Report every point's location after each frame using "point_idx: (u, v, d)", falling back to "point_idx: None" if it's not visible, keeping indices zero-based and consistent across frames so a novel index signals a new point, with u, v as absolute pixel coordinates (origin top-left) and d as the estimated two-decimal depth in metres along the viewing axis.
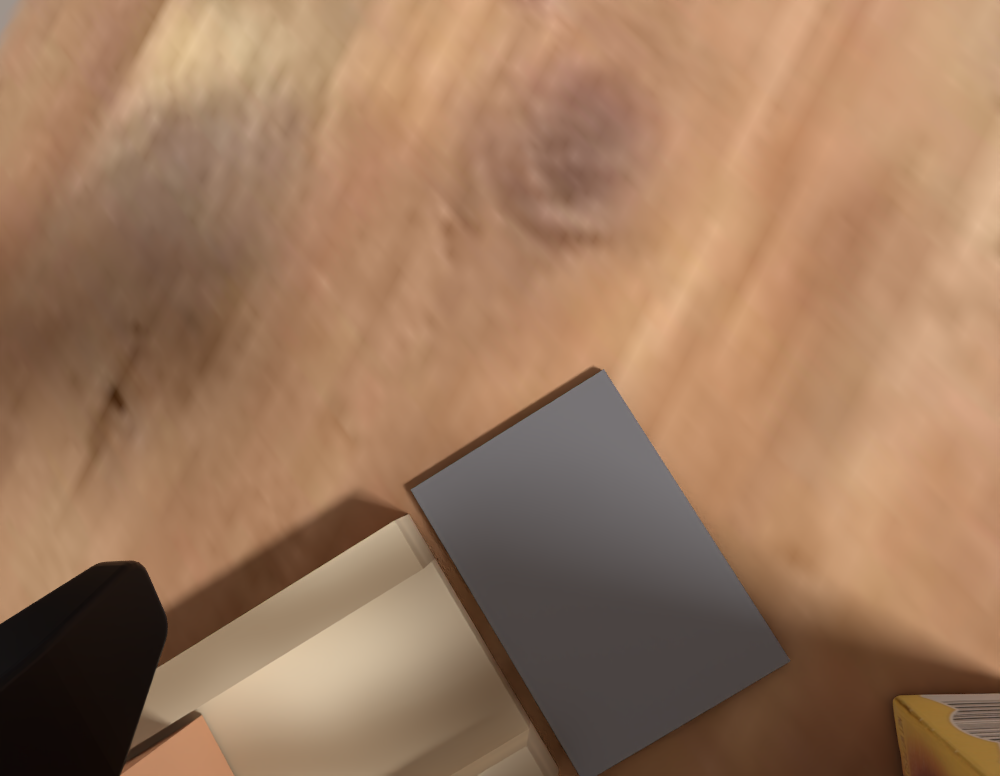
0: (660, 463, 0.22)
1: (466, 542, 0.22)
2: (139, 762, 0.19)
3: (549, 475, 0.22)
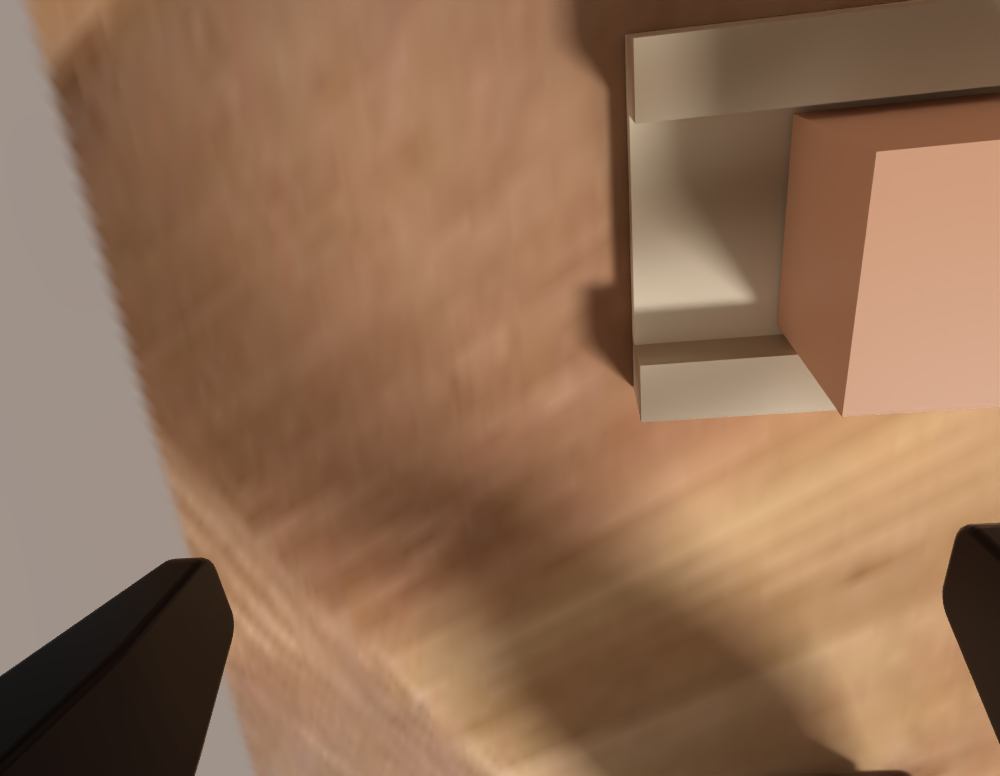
0: None
1: None
2: None
3: None
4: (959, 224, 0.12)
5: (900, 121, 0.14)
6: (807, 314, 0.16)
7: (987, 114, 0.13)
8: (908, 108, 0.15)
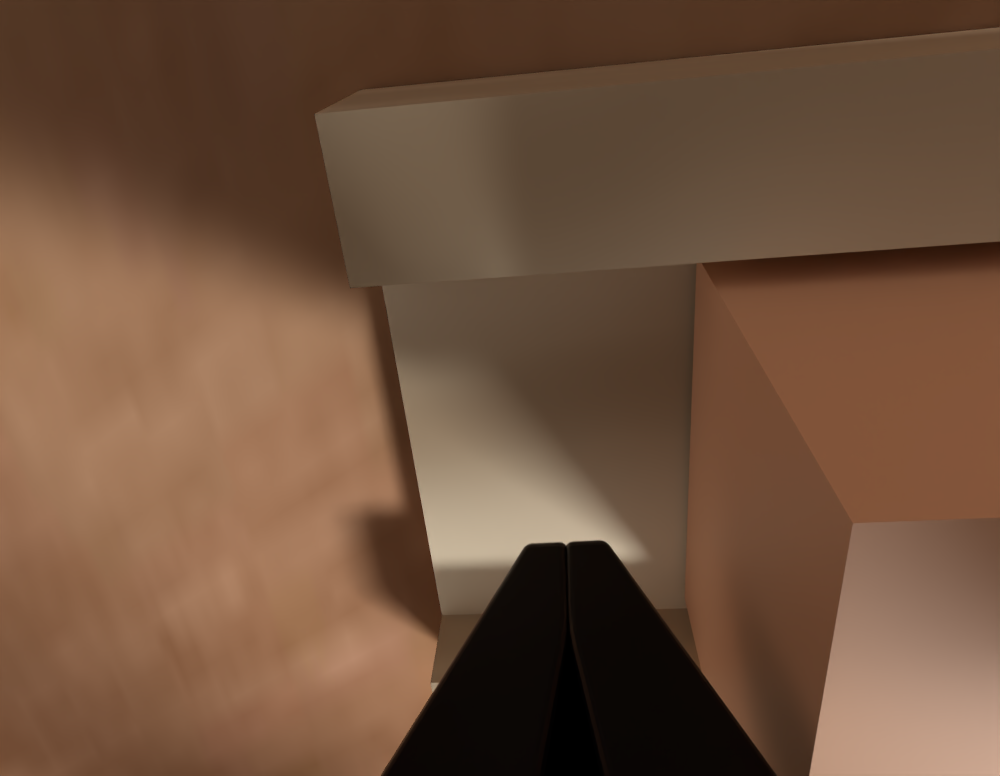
0: None
1: None
2: None
3: None
4: None
5: (916, 327, 0.06)
6: (719, 659, 0.08)
7: None
8: (931, 267, 0.07)
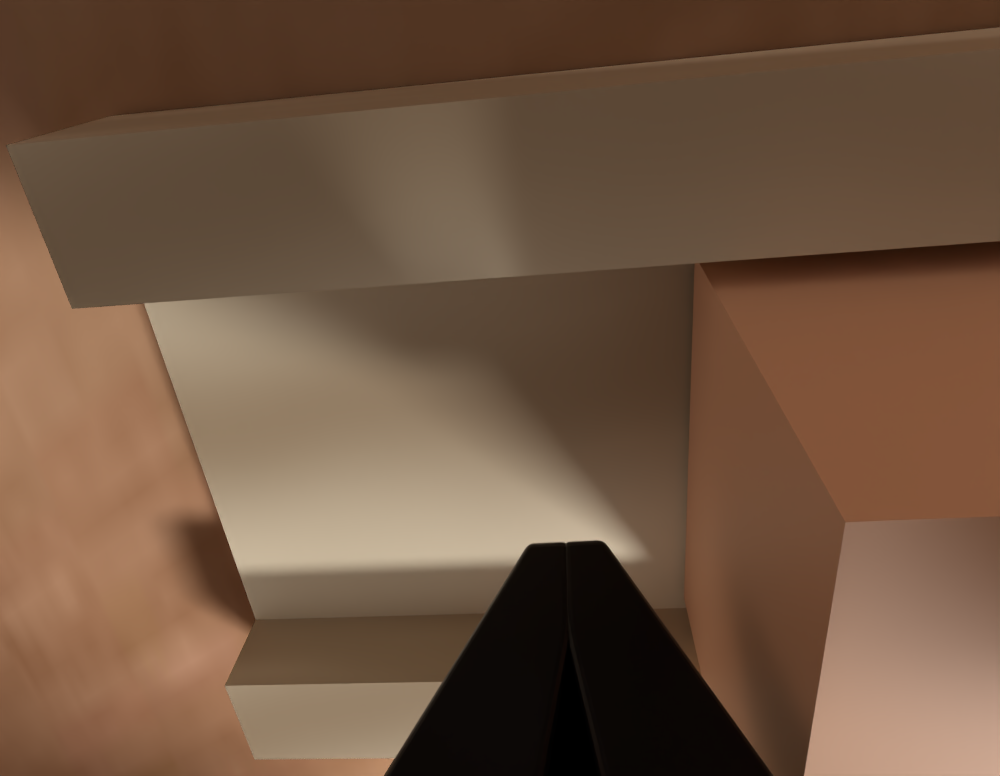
0: None
1: None
2: None
3: None
4: None
5: (912, 327, 0.06)
6: (718, 658, 0.08)
7: None
8: (928, 267, 0.07)
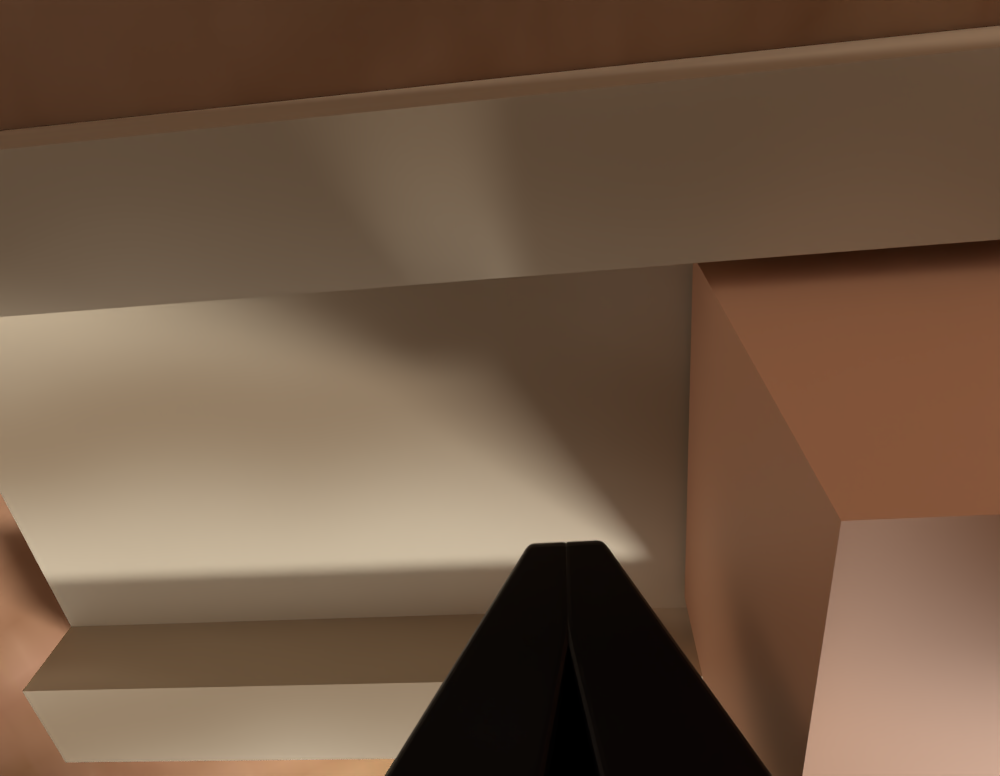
0: None
1: None
2: None
3: None
4: None
5: (910, 325, 0.06)
6: (718, 658, 0.08)
7: None
8: (926, 266, 0.07)
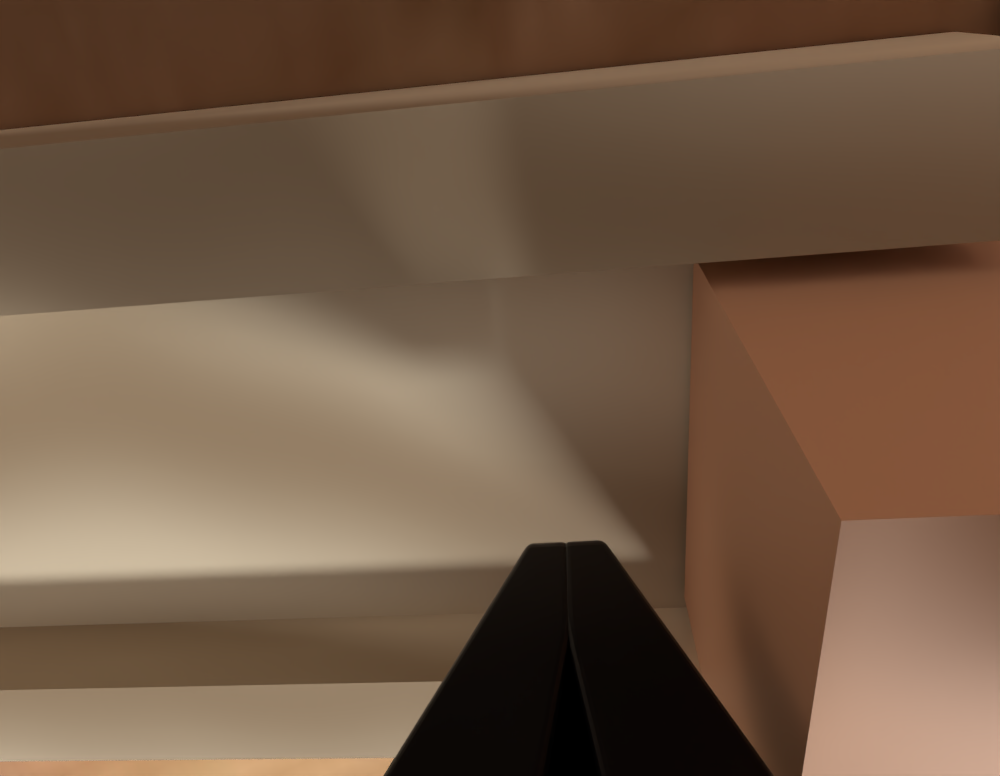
0: None
1: None
2: None
3: None
4: None
5: (910, 326, 0.06)
6: (717, 658, 0.08)
7: None
8: (926, 267, 0.07)
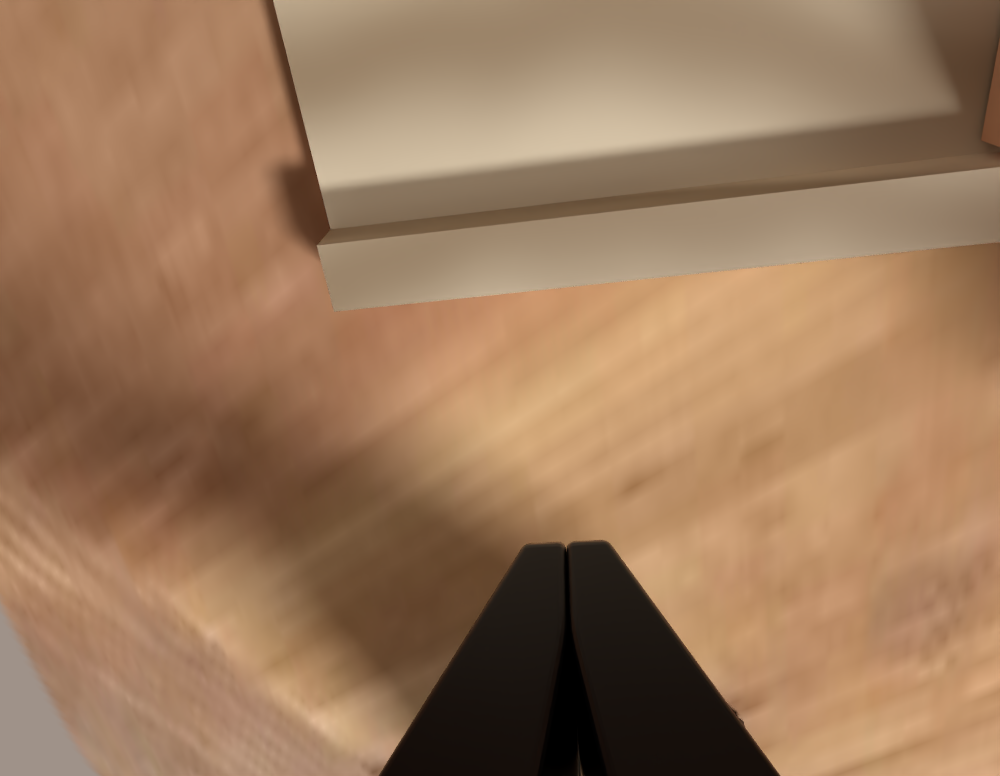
0: None
1: None
2: None
3: None
4: None
5: None
6: None
7: None
8: None
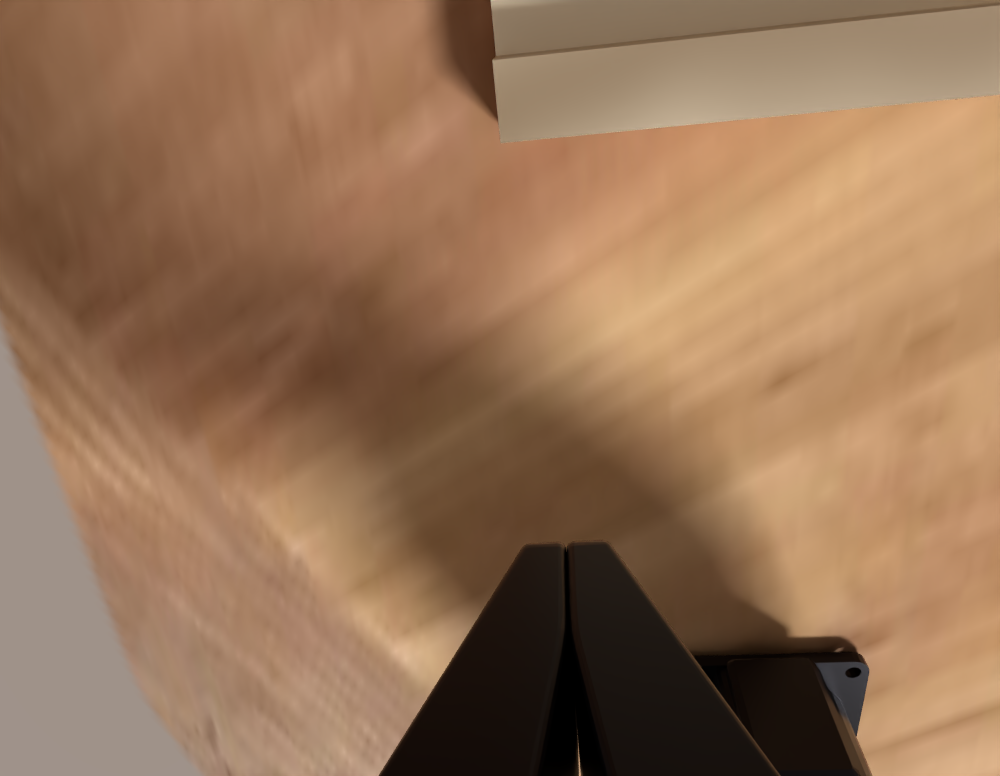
0: None
1: None
2: None
3: None
4: None
5: None
6: None
7: None
8: None
